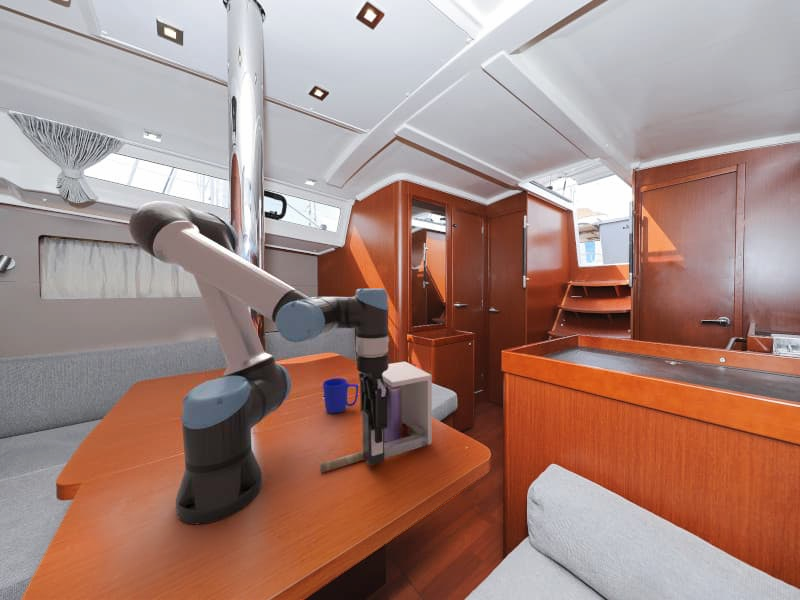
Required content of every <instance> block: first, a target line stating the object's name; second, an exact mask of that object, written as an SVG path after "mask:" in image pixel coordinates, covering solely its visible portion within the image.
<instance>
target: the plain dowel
mask: <svg viewBox="0 0 800 600" xmlns="http://www.w3.org/2000/svg"><path fill="white" fill-rule="evenodd" d="M361 461H365V459H364V457H363V450H362V451H359V452H354V453H351V454H348V455H345V456H344V455H343V456H342V457H338V458H334V459H331V460H327V461H325V462H320V463H319V469H320V473H322V474H323V473H326V472H329V471H332V470H336V469H338V468H339V469H340V468H341V467H345V466H348V465H351V464H355V463H358V462H361Z"/></svg>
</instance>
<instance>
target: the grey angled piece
mask: <svg viewBox="0 0 800 600" xmlns="http://www.w3.org/2000/svg"><path fill="white" fill-rule="evenodd" d="M361 413H362V451H363V457H364V459H365V460H364V461H365V463H366V464H367V466H373V465H376V464H379V463H382V462H385V459H386V458H391V457H393V456H396V455H401V454H403V453H407V452H409V451H412V450H416V449H419V448H422V447H426V446H429V445H428V435H427V434H426V433H425V432H424V431H422V430H421V429H420V428H419V427H418V426H417V425H416V424H415V423H413V424H409V425H408V426H407V434H408V435H409V436H405V437H402V438H401V439H398V440H394V441H391V442H385V441H384V429H383V453H381V454H378V455H374V456H372V455H371V430H370V427H372V426H373V425H372V412H371V407H370V408H365V409H362V412H361Z"/></svg>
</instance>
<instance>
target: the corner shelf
mask: <svg viewBox="0 0 800 600" xmlns="http://www.w3.org/2000/svg"><path fill="white" fill-rule="evenodd" d="M382 377H383V381H384V384H386V383H388V384H389V385H391V386H392V387H395V386H401V388H402V424H404V425H405V426H407V427H408V425H409V424H413V423H415V424H416V425H417V426H418V427H419V428H420V429H421V430H422V431H424V432H425V433H426V434H427V435H428V445H427V446H430V445H432V444H431V443H433V442H432V441H433V439H432V434H433V432H432V430H433V428H432V425H433V424H432V420H433V418H432V417H433V413H432V411H433V410H432V409H433V408H432V405H433V404H432V403H433V400H432V399H433V398H432V397H433V395H432V393H433V391H432V388H433V387H432V385H433V384H432V380H433V377H432V374H431V373H428V372H426V371H425V370H423V369H421V368H418V366H416V365H415V366H414V365H413V364H411V363H409V362H407V361H400V362H394V363H388V369H387V370H386V371H384V372H383V373H382ZM429 444H430V445H429Z"/></svg>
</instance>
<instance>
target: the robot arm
mask: <svg viewBox="0 0 800 600" xmlns="http://www.w3.org/2000/svg"><path fill="white" fill-rule="evenodd" d="M128 229H129V233H130V235H131V237H132V239H133V241H134V243H135V244H136V245H137V246H138V247H139V248H141V249H142V250H143V251H144V252H146V253H147V254H149V255H151V256H152V257H153V258H156V259H157V260H159V261H160V262H162V263H165V264H169V265H170V264H173V265H174V264H176V265H178V266H180V267H181V268H182V269H183V271H185V272H188V273H190V274H191V275H193V276H194V279H195V282H196V284H197V288H198V290H199V293H200V295H201V298H202V301H203V303H204V306H205V308H206V312H207V313H208V314H207V315H208V316H209V320H210V321H211V324H212V327H213V330H214V333H215V334H216V338H217V340H218V343H219V346H220V348H221V351H222V354H223V356H224V358H225V362H226V364H227V366H226V368H225V371H224V373H223V376H220V377H217V378H216V379H209V380H206V381H204V382H202V383H200V384H198V385H196V386H195V387H193V388H192V389H190V390H189V391H188V392H187V393H186V395H185V396H184V397H183V401H182V412H181V417H180V420H181V424H182V437H183V450H184V452H183V453H184V461H185V462H184V463H185V464H184V468H185V469H184V473H183V475H182V478H181V482H180V485H179V488H178V492H177V494H176V498H175V514H176V516H178V517H179V518H178V517H177V518H178V519H179V520H180V519H181V520H182V521H181V520H180V521H181V522H183V521H184V522H183V523H185V522H187V523H186V524H189V523H193V525H203V524H209V523H212V522H216V521H219V520H222V519H225V518H227V517H229V516H231V515H233V514H235V513H238V512H239V511H240V510H242V509H243V508H245V507H246V506H247V505H249V504H250V502H252V501H253V500H254V499H255V498H256V497H257V495H258V494H259V492H260V491H261V488H262V485H263V484H262V483H263V479H262V478H263V475H262V469H261V467H260V465H259V462H258V461H257V459H256V456H255V453H254V452H253V450H252V429H253V427H255V426H256V425H257V424H259V423H260V422H261V421H263V420H264V419H265V418H266V417H267V416H269V415H270V414H272V413H273V412H275V411H277V409H279V408H280V407H281V405H282V404H283V403H284V402H285V401H286V400H287V399H288V397H289V395H290V393H291V389H292V380H291V379H292V378H291V376H290V374H289V371H288V370H287V369H286V367H284V366H282V365H281V364H279V363H276V361H275V358H274V356H273V354H270V353H268V352H266V351H265V350H264V347H263V344H262V342H261V339H260V337H259V333H258V330H257V328H256V326H255V324H254V321H253V318H252V316H251V312H250V310H249V308H250V309H252V311H253V310H254V311H255V312H257V313H258V314H261V316H263V317H265V318H266V319H269V320H270V321H271V322H273V323H274V324H275V327H276V329H277V331H278V332H279V334H280V336H281V337H282V338H283V339H285V340H286V341H289V342H291V343H301V342H306V341H309V340H310V341H311V340H313V339H315V338H317V337H318V336H320V335H322V334H324V333H327V332H329V331H331V330H333V329H355V330H356V331H355V333H356V335H355V344H356V346H355V348H356V349H355V350H356V351H355V352H356V353H357V355H356V370H357V371H358V372H359V374H358V378H359V383H360V384H359V392H360V394H359V395H360V399H359V400H360V412H361V413H362V409H365V408H370V407H371V412H372V425H373V426H372V427H370V430H371V455H372V456H374V455H378V454H381V453H383V429H386V428H387V423H388V393H389V388H388V387H384V386H383V385H384V381H383V377H382V373H383V372H384V371H386V370H387V369H388V364H389V354H388V352H389V342H390V337H389V303H388V302H389V301H388V291H387V290H386V289H384V288H357V289H356V290H355V295H354V296H348V297H347V296H325V295H322V296H312V297H309V296H307V295H305V294H304V293H302V292H301V291H298V290H297V289H295V288H294V287H293V286H291V285H289V284H287V283H285V282H283V281H282V280H281V279H278V278H277V277H275V276H273V275H272V274H270V273H268V272H267V271H265V270H263V269H261V268H259V267H258V266H257V265H254V264H253V263H251V262H249V261H247V260H246V259H244V258H242V257H241V256H239V255H238V254H236V252H237V251H238V249H237V247H238V246H239V238H238V234H237V232H236V230H235V228H234V226H233V225H232V224H231V223H229V221H227V220H225V219H224V218H222V217H219V216H218V215H216V214H214V213H210V212H205V211H200V210H196V209H194V208H190V207H188V206H185V205H181V204H178V203H175V202H173V201H163V200H156V201H149V202H146V203H144V204H142V205H140V206H138V207H137V208H136V209H135V210H134V211H133V212H132V214H131V216H130V218H129V223H128ZM197 523H198V524H197ZM201 523H202V524H201Z"/></svg>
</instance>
